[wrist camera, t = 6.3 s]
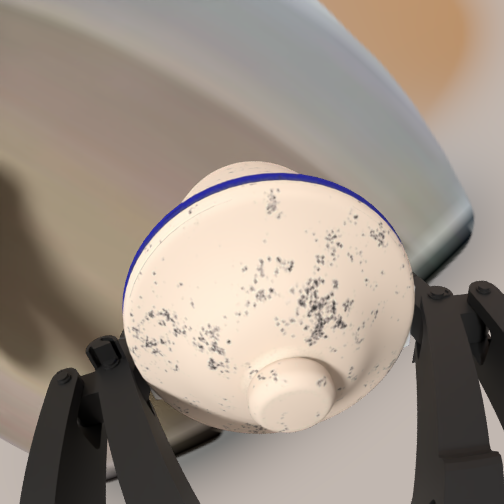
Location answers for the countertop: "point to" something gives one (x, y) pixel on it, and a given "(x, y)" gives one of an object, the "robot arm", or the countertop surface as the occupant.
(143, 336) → the teacup with lid
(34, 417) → the countertop surface
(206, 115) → the countertop surface
